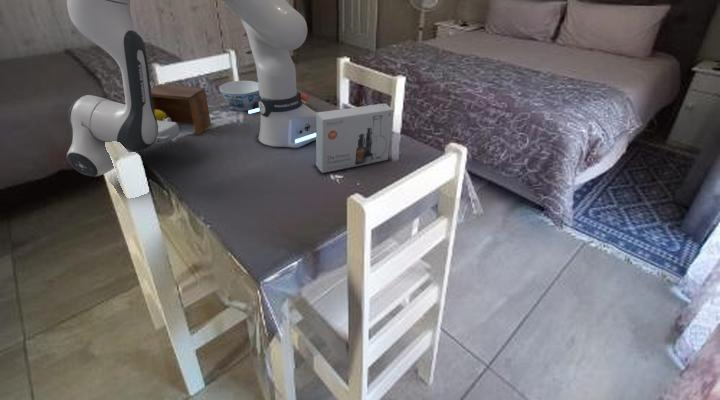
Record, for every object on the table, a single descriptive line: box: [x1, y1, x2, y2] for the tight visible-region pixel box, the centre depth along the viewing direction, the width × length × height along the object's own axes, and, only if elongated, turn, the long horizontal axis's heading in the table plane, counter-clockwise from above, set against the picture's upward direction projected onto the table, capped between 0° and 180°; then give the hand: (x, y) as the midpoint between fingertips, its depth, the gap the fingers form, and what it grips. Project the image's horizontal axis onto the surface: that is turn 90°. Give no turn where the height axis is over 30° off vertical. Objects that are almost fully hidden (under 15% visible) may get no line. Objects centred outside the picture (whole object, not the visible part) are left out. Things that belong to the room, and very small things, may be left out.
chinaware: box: [218, 80, 259, 112], centre depth 144 cm, size 15×15×8 cm
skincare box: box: [315, 103, 395, 174], centre depth 108 cm, size 21×6×16 cm, turn 117°
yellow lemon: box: [154, 110, 167, 121], centre depth 115 cm, size 6×6×8 cm
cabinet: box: [151, 83, 212, 136], centre depth 125 cm, size 9×15×12 cm, turn 81°
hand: (156, 118), depth 114 cm, fingers closed on yellow lemon, 6 cm apart
